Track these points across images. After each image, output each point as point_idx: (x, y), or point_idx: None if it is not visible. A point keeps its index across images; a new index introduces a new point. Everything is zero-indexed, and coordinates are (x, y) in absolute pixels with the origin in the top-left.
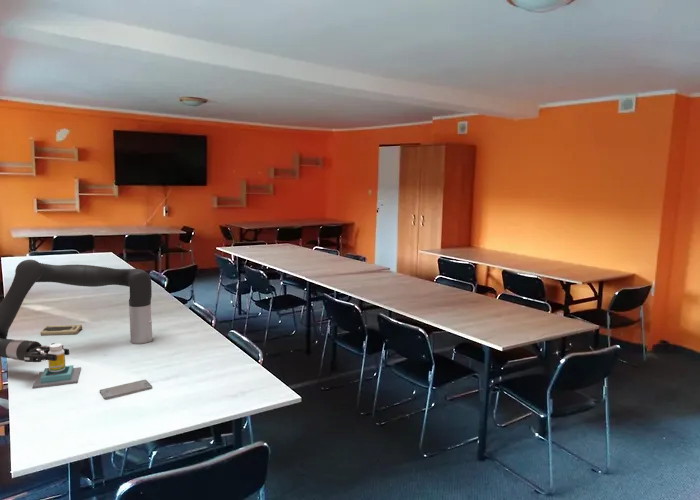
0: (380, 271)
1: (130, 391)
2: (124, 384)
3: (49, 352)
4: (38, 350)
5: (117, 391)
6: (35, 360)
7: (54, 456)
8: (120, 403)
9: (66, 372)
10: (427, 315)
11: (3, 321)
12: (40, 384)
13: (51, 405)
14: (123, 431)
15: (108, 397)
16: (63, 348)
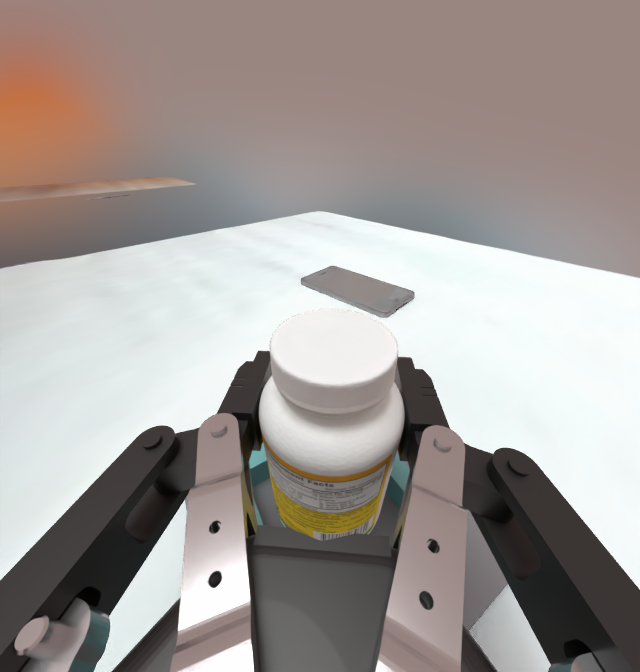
0: None
1: (366, 277)
2: (337, 292)
3: (394, 413)
4: (450, 603)
5: (376, 289)
6: (528, 553)
7: (602, 274)
8: (411, 278)
9: (263, 500)
10: (81, 193)
11: None
12: (468, 528)
13: (525, 365)
14: (479, 254)
15: (409, 290)
16: (244, 384)
